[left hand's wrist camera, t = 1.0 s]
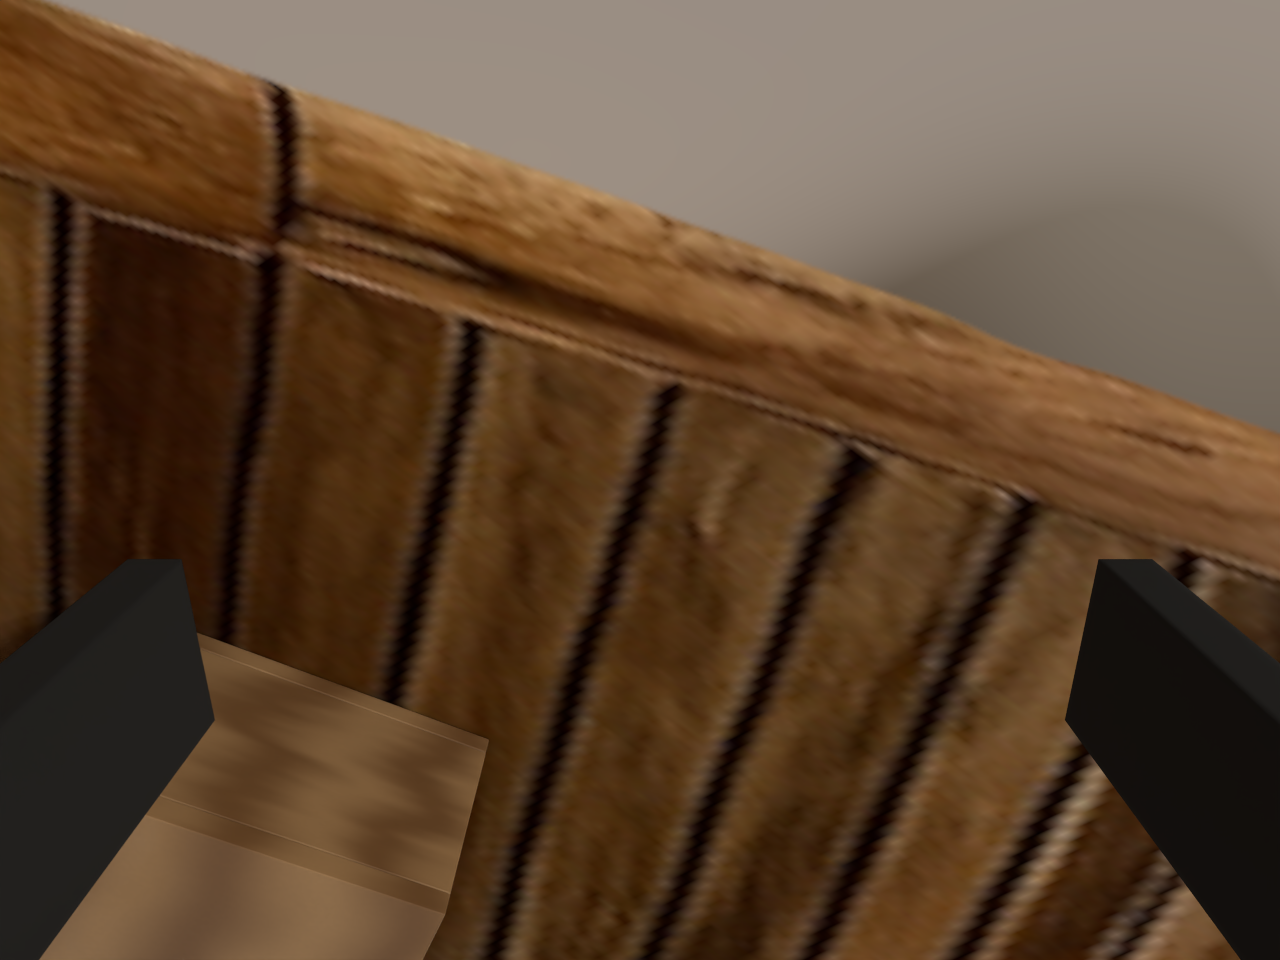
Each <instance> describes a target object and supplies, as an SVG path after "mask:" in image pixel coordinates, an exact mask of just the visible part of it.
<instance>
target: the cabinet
mask: <svg viewBox="0 0 1280 960" xmlns="http://www.w3.org/2000/svg"><path fill="white" fill-rule="evenodd" d="M197 636H198V641H199V646H200V651H201V655H202V660H203V665H204V670H205V674H206V679H207V684H208V689H209V694H210V698H211V703H212V708H213V713H214V717H215V721H214V722H213V723H212V725H211V726H210V728H209V729H208V730H207V732H206V733H205V734H204V736H203V737H202V738H201V740H200V741H199V743H198V744H197V745H196V747H195V748H194V749H193V751H192V752H191V753H190V755H189V756H188V758H187V759H186V760H185V762H184V763H183V764H182V766H181V767H180V768H179V770H178V771H177V773H176V774H175V775H174V777H173V778H172V779H171V781H170V782H169V783H168V785H167V786H166V788H165V789H164V790H163V792H162V793H161V794H160V796H159V797H158V798H157V800H156V801H155V803H154V804H153V805H152V807H151V808H150V809H149V811H148V812H147V813H146V815H145V816H144V818H143V819H142V820H141V822H140V823H139V824H138V826H137V827H136V828H135V830H134V831H133V833H132V834H131V835H130V837H129V838H128V839H127V841H126V842H125V843H124V845H123V846H122V847H121V849H120V850H119V852H118V853H117V854H116V856H115V857H114V858H113V860H112V861H111V862H110V864H109V865H108V867H107V868H106V869H105V871H104V872H103V873H102V875H101V876H100V877H99V879H98V880H97V882H96V883H95V884H94V886H93V887H92V888H91V890H90V891H89V892H88V894H87V895H86V897H85V898H84V899H83V901H82V902H81V903H80V905H79V906H78V907H77V909H76V910H75V912H74V913H73V914H72V916H71V917H70V918H69V920H68V921H67V922H66V924H65V925H64V927H63V928H62V929H61V931H60V932H59V933H58V935H57V936H56V937H55V939H54V940H53V942H52V943H51V944H50V946H49V947H48V948H47V950H46V951H45V952H44V954H43V955H42V957H41V958H40V959H39V960H423V958H424V956H425V954H426V952H427V950H428V948H429V946H430V944H431V942H432V940H433V938H434V936H435V934H436V932H437V930H438V928H439V926H440V924H441V922H442V920H443V918H444V916H445V913H446V909H447V905H448V901H449V897H450V893H451V889H452V885H453V881H454V877H455V873H456V869H457V865H458V861H459V857H460V853H461V849H462V846H463V842H464V838H465V834H466V830H467V826H468V822H469V818H470V814H471V810H472V806H473V802H474V798H475V794H476V790H477V786H478V782H479V778H480V774H481V770H482V766H483V762H484V758H485V753H486V750H487V746H488V742H489V740H488V739H486V738H483V737H481V736H478V735H475V734H473V733H470V732H467V731H464V730H462V729H459V728H456V727H453V726H451V725H448V724H445V723H443V722H440V721H437V720H434V719H432V718H429V717H426V716H423V715H421V714H418V713H415V712H412V711H410V710H407V709H404V708H402V707H399V706H396V705H393V704H391V703H388V702H385V701H382V700H380V699H377V698H374V697H372V696H369V695H366V694H363V693H361V692H358V691H355V690H352V689H350V688H347V687H344V686H342V685H339V684H336V683H333V682H331V681H328V680H325V679H322V678H320V677H317V676H314V675H311V674H309V673H306V672H303V671H301V670H298V669H295V668H292V667H290V666H287V665H284V664H281V663H279V662H276V661H273V660H271V659H268V658H265V657H262V656H260V655H257V654H254V653H251V652H249V651H246V650H243V649H241V648H238V647H235V646H232V645H230V644H227V643H224V642H221V641H219V640H216V639H213V638H211V637H208V636H205V635H202V634H200V633H197Z"/></svg>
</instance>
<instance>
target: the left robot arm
mask: <svg viewBox="0 0 1280 960" xmlns="http://www.w3.org/2000/svg"><path fill="white" fill-rule="evenodd" d="M214 721H215V717H214V713H213V708H212V703H211V698H210V694H209V689H208V684H207V679H206V674H205V670H204V665H203V660H202V655H201V651H200V646H199V641H198V636H197V632H196V627H195V622H194V617H193V612H192V608H191V603H190V598H189V593H188V589H187V584H186V579H185V574H184V569H183V565H182V560H181V559H128V560H126V561H125V562H124V563H123V564H122V565H120V566H119V567H118V568H117V569H115V570H114V571H113V572H112V573H110V574H109V575H108V576H107V577H106V578H104V579H103V580H102V581H101V582H99V583H98V584H97V585H96V586H95V587H93V588H92V589H91V590H90V591H88V592H87V593H86V594H85V595H84V596H82V597H81V598H80V599H79V600H77V601H76V602H75V603H74V604H73V605H71V606H70V607H69V608H68V609H66V610H65V611H64V612H63V613H62V614H60V615H59V616H58V617H57V618H55V619H54V620H53V621H52V622H51V623H49V624H48V625H47V626H46V627H44V628H43V629H42V630H41V631H40V632H38V633H37V634H36V635H35V636H33V637H32V638H31V639H30V640H29V641H27V642H26V643H25V644H24V645H22V646H21V647H20V648H19V649H17V650H16V651H15V652H14V653H13V654H11V655H10V656H9V657H8V658H6V659H5V660H4V661H3V662H2V663H0V960H39V959H40V958H41V957H42V955H43V954H44V952H45V951H46V950H47V948H48V947H49V946H50V944H51V943H52V942H53V940H54V939H55V937H56V936H57V935H58V933H59V932H60V931H61V929H62V928H63V927H64V925H65V924H66V922H67V921H68V920H69V918H70V917H71V916H72V914H73V913H74V912H75V910H76V909H77V907H78V906H79V905H80V903H81V902H82V901H83V899H84V898H85V897H86V895H87V894H88V892H89V891H90V890H91V888H92V887H93V886H94V884H95V883H96V882H97V880H98V879H99V877H100V876H101V875H102V873H103V872H104V871H105V869H106V868H107V867H108V865H109V864H110V862H111V861H112V860H113V858H114V857H115V856H116V854H117V853H118V852H119V850H120V849H121V847H122V846H123V845H124V843H125V842H126V841H127V839H128V838H129V837H130V835H131V834H132V833H133V831H134V830H135V828H136V827H137V826H138V824H139V823H140V822H141V820H142V819H143V818H144V816H145V815H146V813H147V812H148V811H149V809H150V808H151V807H152V805H153V804H154V803H155V801H156V800H157V798H158V797H159V796H160V794H161V793H162V792H163V790H164V789H165V788H166V786H167V785H168V783H169V782H170V781H171V779H172V778H173V777H174V775H175V774H176V773H177V771H178V770H179V768H180V767H181V766H182V764H183V763H184V762H185V760H186V759H187V758H188V756H189V755H190V753H191V752H192V751H193V749H194V748H195V747H196V745H197V744H198V743H199V741H200V740H201V738H202V737H203V736H204V734H205V733H206V732H207V730H208V729H209V728H210V726H211V725H212V723H213V722H214ZM1065 721H1066V722H1067V723H1068V725H1069V726H1070V728H1071V729H1072V730H1073V732H1074V733H1075V734H1076V736H1077V737H1078V738H1079V740H1080V741H1081V743H1082V744H1083V745H1084V747H1085V748H1086V749H1087V751H1088V752H1089V753H1090V755H1091V756H1092V758H1093V759H1094V760H1095V762H1096V763H1097V764H1098V766H1099V767H1100V768H1101V770H1102V771H1103V773H1104V774H1105V775H1106V777H1107V778H1108V779H1109V781H1110V782H1111V783H1112V785H1113V786H1114V788H1115V789H1116V790H1117V792H1118V793H1119V794H1120V796H1121V797H1122V798H1123V800H1124V801H1125V803H1126V804H1127V805H1128V807H1129V808H1130V809H1131V811H1132V812H1133V813H1134V815H1135V816H1136V818H1137V819H1138V820H1139V822H1140V823H1141V824H1142V826H1143V827H1144V828H1145V830H1146V831H1147V833H1148V834H1149V835H1150V837H1151V838H1152V839H1153V841H1154V842H1155V843H1156V845H1157V846H1158V847H1159V849H1160V850H1161V852H1162V853H1163V854H1164V856H1165V857H1166V858H1167V860H1168V861H1169V862H1170V864H1171V865H1172V867H1173V868H1174V869H1175V871H1176V872H1177V873H1178V875H1179V876H1180V877H1181V879H1182V880H1183V882H1184V883H1185V884H1186V886H1187V887H1188V888H1189V890H1190V891H1191V892H1192V894H1193V895H1194V897H1195V898H1196V899H1197V901H1198V902H1199V903H1200V905H1201V906H1202V907H1203V909H1204V910H1205V912H1206V913H1207V914H1208V916H1209V917H1210V918H1211V920H1212V921H1213V922H1214V924H1215V925H1216V927H1217V928H1218V929H1219V931H1220V932H1221V933H1222V935H1223V936H1224V937H1225V939H1226V940H1227V942H1228V943H1229V944H1230V946H1231V947H1232V948H1233V950H1234V951H1235V952H1236V954H1237V955H1238V957H1239V958H1240V959H1241V960H1280V663H1278V662H1277V661H1276V660H1275V659H1274V658H1272V657H1271V656H1270V655H1269V654H1267V653H1266V652H1265V651H1264V650H1263V649H1261V648H1260V647H1259V646H1258V645H1256V644H1255V643H1254V642H1253V641H1251V640H1250V639H1249V638H1248V637H1247V636H1245V635H1244V634H1243V633H1242V632H1240V631H1239V630H1238V629H1237V628H1236V627H1234V626H1233V625H1232V624H1231V623H1229V622H1228V621H1227V620H1226V619H1225V618H1223V617H1222V616H1221V615H1220V614H1218V613H1217V612H1216V611H1215V610H1214V609H1212V608H1211V607H1210V606H1209V605H1207V604H1206V603H1205V602H1204V601H1203V600H1201V599H1200V598H1199V597H1198V596H1196V595H1195V594H1194V593H1193V592H1192V591H1190V590H1189V589H1188V588H1187V587H1185V586H1184V585H1183V584H1182V583H1181V582H1179V581H1178V580H1177V579H1176V578H1174V577H1173V576H1172V575H1171V574H1170V573H1168V572H1167V571H1166V570H1165V569H1163V568H1162V567H1161V566H1160V565H1158V564H1157V563H1156V562H1155V561H1154V560H1152V559H1099V560H1098V565H1097V569H1096V574H1095V579H1094V584H1093V589H1092V593H1091V598H1090V603H1089V608H1088V612H1087V617H1086V622H1085V627H1084V632H1083V636H1082V641H1081V646H1080V651H1079V655H1078V660H1077V665H1076V670H1075V674H1074V679H1073V684H1072V689H1071V694H1070V698H1069V703H1068V708H1067V713H1066V717H1065Z"/></svg>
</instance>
